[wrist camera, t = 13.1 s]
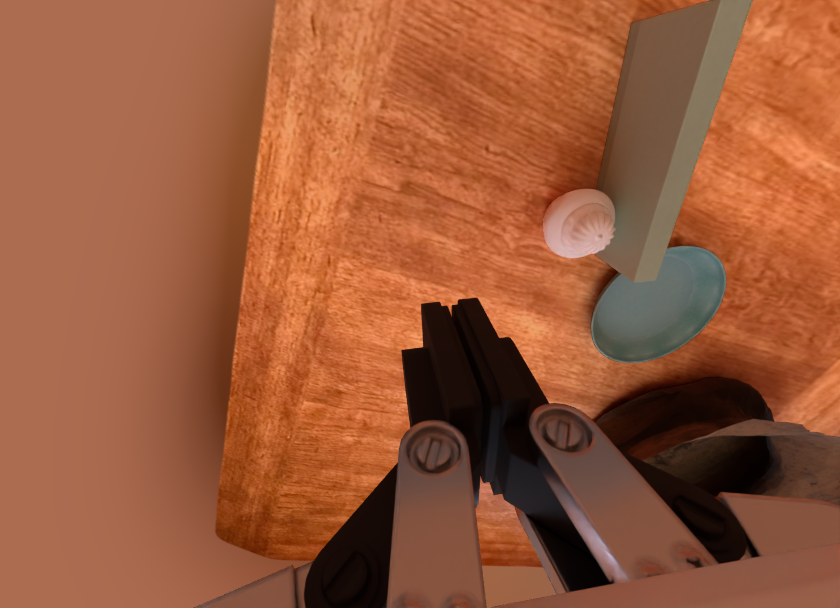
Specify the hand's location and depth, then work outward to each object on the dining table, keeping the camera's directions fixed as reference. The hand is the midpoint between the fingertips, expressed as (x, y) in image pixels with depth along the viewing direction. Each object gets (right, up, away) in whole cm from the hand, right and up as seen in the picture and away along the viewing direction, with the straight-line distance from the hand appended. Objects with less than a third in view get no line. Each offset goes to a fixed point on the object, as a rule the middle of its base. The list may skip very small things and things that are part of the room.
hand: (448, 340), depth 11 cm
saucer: (+25, +2, +29) cm, 38 cm away
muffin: (+13, +10, +23) cm, 28 cm away
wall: (+18, +15, +20) cm, 31 cm away
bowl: (+36, -19, +43) cm, 59 cm away
